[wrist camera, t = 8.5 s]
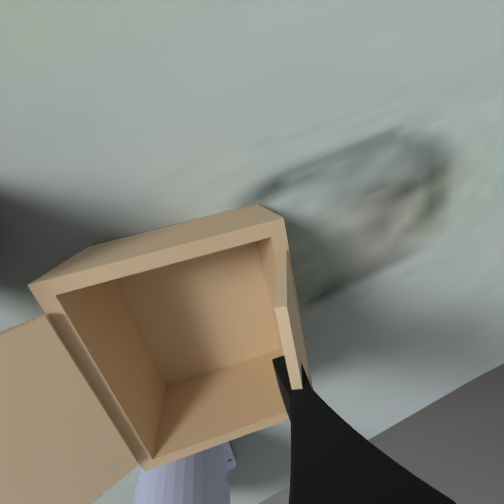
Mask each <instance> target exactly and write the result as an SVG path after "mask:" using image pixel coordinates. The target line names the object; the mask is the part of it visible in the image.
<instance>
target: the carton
mask: <svg viewBox="0 0 504 504" xmlns="http://www.w3.org/2000/svg"><path fill="white" fill-rule="evenodd" d="M281 250H286V251H287V256H288V262H289V268H290V274H291V279H292V285H293V291H294V296H295V302H296V308H297V314H298V319H299V325H300V331H301V336H302V342H303V348H304V354H305V359H306V365H307V371H308V376H309V382H310V384H311V387H312V381H311V375H310V369H309V363H308V357H307V352H306V346H305V340H304V334H303V328H302V322H301V316H300V310H299V305H298V299H297V293H296V287H295V281H294V275H293V269H292V264H291V258H290V252H289V246H288V240H287V234H286V228H285V222H284V218H283V217H281V216H280V215H278V214H276V213H274V212H272V211H270V210H269V209H267V208H265V207H263V206H261V205H259V204H254V205H250V206H246V207H242V208H238V209H234V210H230V211H226V212H222V213H218V214H214V215H210V216H207V217H203V218H199V219H195V220H191V221H187V222H183V223H179V224H175V225H171V226H167V227H163V228H159V229H155V230H151V231H147V232H143V233H139V234H135V235H131V236H127V237H123V238H119V239H115V240H111V241H107V242H103V243H99V244H95V245H91V246H88V247H87V248H85V249H84V250H82V251H80V252H79V253H77V254H76V255H74V256H72V257H71V258H69V259H68V260H66V261H65V262H63V263H61V264H60V265H58V266H57V267H55V268H53V269H52V270H50V271H49V272H47V273H46V274H44V275H42V276H41V277H39V278H38V279H36V280H34V281H33V282H31V283H30V284H28V285H27V286H28V287H29V289H30V291H31V292H32V294H33V295H34V297H35V299H36V300H37V302H38V303H39V305H40V306H41V308H42V310H43V311H44V313H45V314H47V316H48V317H49V319H50V320H51V322H52V324H53V325H54V327H55V328H56V330H57V332H58V333H59V335H60V336H61V338H62V340H63V341H64V343H65V344H66V346H67V348H68V349H69V351H70V352H71V354H72V356H73V357H74V359H75V360H76V362H77V363H78V365H79V367H80V368H81V370H82V371H83V373H84V375H85V376H86V378H87V379H88V381H89V383H90V384H91V386H92V387H93V389H94V391H95V392H96V394H97V395H98V397H99V399H100V400H101V402H102V403H103V405H104V407H105V408H106V410H107V411H108V413H109V414H110V416H111V418H112V419H113V421H114V422H115V424H116V426H117V427H118V429H119V430H120V432H121V434H122V435H123V437H124V438H125V440H126V442H127V443H128V445H129V446H130V448H131V450H132V451H133V453H134V454H135V456H136V458H137V459H138V462H139V464H140V465H141V467H142V469H143V470H144V472H145V471H148V470H151V469H154V468H156V467H159V466H162V465H165V464H167V463H170V462H173V461H176V460H178V459H181V458H184V457H187V456H189V455H192V454H195V453H198V452H200V451H203V450H206V449H209V448H211V447H214V446H217V445H220V444H222V443H225V442H228V441H231V440H233V439H236V438H239V437H242V436H244V435H247V434H250V433H253V432H255V431H258V430H261V429H264V428H267V427H269V426H272V425H275V424H278V423H280V422H283V421H286V420H289V416H288V414H287V411H286V408H285V405H284V402H283V399H282V396H281V393H280V390H279V386H278V382H277V378H276V374H275V370H274V366H273V362H272V359H275V358H277V357H280V356H283V355H284V351H283V346H282V342H281V337H280V332H279V328H278V323H277V318H276V314H275V309H274V303H275V290H276V276H277V263H278V251H281ZM312 389H313V387H312Z"/></svg>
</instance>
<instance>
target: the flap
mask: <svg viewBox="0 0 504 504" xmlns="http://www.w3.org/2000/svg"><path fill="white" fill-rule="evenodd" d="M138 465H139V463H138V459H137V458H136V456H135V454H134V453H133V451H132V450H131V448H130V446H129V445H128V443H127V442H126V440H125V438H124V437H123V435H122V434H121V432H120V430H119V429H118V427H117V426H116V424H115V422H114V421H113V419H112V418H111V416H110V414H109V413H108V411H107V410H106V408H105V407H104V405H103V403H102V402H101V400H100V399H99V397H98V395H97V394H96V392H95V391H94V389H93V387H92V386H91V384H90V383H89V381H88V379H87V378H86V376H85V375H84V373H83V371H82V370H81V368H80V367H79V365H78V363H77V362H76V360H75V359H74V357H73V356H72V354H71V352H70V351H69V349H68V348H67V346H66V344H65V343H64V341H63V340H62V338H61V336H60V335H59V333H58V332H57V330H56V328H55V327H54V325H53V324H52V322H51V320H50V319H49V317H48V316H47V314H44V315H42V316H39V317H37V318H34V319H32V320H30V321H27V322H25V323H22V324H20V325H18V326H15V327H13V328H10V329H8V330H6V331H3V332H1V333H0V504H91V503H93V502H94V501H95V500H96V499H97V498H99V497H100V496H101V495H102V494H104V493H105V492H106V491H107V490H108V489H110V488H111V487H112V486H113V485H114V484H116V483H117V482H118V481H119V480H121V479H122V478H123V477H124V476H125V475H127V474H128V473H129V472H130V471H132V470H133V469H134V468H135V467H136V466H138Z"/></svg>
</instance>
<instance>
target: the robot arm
mask: <svg viewBox="0 0 504 504" xmlns="http://www.w3.org/2000/svg"><path fill="white" fill-rule="evenodd" d="M272 362H273V366H274V370H275V374H276V378H277V382H278V386H279V390H280V393H281V396H282V399H283V402H284V405H285V408H286V411H287V414H288V416H289V419H290V421H291V477H290V495H289V504H456V503H455V502H454V501H453V500H451V499H450V498H448V497H447V496H445V495H444V494H442V493H441V492H439V491H438V490H436V489H434V488H433V487H431V486H430V485H428V484H427V483H425V482H424V481H422V480H421V479H419V478H418V477H416V476H415V475H413V474H412V473H411V472H409V471H408V470H406V469H405V468H404V467H402V466H401V465H399V464H398V463H396V462H395V461H394V460H392V459H391V458H390V457H389V456H387V455H386V454H385V453H383V452H382V451H381V450H379V449H378V448H377V447H375V446H374V445H373V444H371V443H370V442H369V441H368V440H366V439H365V438H364V437H363V436H362V435H360V434H359V433H358V432H357V431H356V430H354V429H353V428H352V427H351V426H350V425H349V424H348V423H346V422H345V421H344V420H343V419H342V418H341V417H340V416H339V415H338V414H337V413H335V412H334V411H333V410H332V409H331V408H330V407H329V406H328V405H327V404H326V403H325V402H324V401H323V400H322V399H321V398H320V397H319V396H318V395H317V394H316V392H315V391H314V390H313V389H312V387H311V384H310V382H309V380H308V377H307V375H306V372H305V370H304V368H303V365H302V363H301V370H302V387H303V389H293V390H292V388H291V384H290V379H289V374H288V370H287V365H286V360H285V356H284V355H283V356H280V357H277V358H275V359H272ZM236 465H237V464H236V459H235V456H234V454H233V451H232V449H231V446H230V443H229V441H228V442H225V443H222V444H220V445H217V446H214V447H211V448H209V449H206V450H203V451H200V452H198V453H195V454H192V455H189V456H187V457H184V458H181V459H178V460H176V461H173V462H170V463H167V464H165V465H162V466H159V467H156V468H154V469H151V470H148V471H145V472H144V470H143V469H142V467H141V470H140V475H139V480H138V484H137V489H136V494H135V498H134V503H133V504H231V503H230V491H229V479H228V470H231V469H233V468H235V467H236Z"/></svg>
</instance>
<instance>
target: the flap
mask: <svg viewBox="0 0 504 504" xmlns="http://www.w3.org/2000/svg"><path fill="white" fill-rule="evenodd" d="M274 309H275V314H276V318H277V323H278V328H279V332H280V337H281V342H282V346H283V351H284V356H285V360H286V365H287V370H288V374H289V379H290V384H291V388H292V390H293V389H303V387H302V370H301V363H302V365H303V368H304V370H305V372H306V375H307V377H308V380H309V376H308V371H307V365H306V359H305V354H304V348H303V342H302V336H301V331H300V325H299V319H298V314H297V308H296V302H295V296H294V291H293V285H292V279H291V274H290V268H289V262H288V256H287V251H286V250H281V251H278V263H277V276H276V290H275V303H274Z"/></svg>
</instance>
